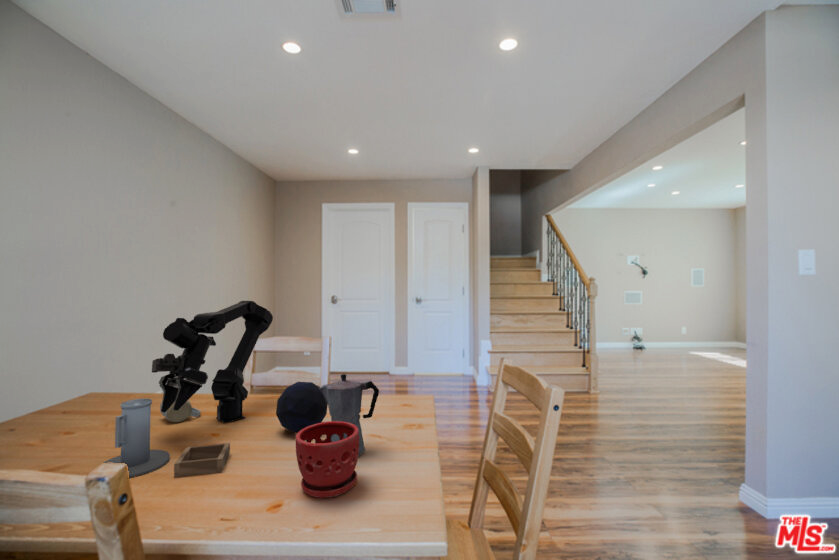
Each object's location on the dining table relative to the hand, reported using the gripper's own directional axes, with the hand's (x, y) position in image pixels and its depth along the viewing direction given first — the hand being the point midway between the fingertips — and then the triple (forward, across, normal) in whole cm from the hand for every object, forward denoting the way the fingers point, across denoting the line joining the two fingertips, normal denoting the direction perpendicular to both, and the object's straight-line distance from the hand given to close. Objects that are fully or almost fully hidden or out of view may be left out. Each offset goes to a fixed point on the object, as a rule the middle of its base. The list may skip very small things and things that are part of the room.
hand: (168, 411), depth 103 cm
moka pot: (+4, +34, +34) cm, 49 cm away
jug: (+13, +3, -3) cm, 13 cm away
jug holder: (+11, +15, +8) cm, 20 cm away
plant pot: (+13, +44, +23) cm, 51 cm away
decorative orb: (-2, +13, +33) cm, 35 cm away
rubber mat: (+13, +2, -3) cm, 14 cm away
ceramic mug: (-2, -24, +11) cm, 27 cm away
